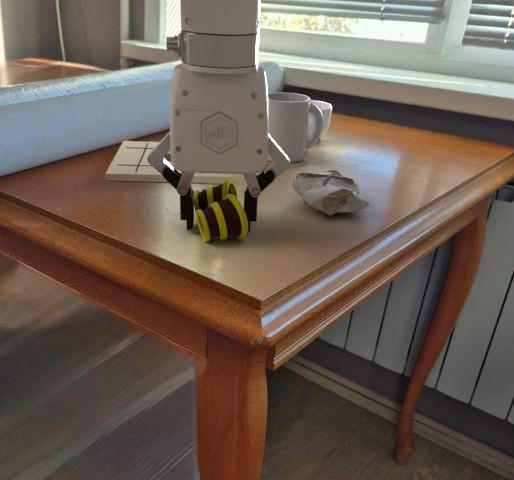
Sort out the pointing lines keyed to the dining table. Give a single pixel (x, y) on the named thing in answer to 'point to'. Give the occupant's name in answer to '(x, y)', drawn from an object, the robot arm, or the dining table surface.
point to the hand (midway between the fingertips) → (218, 225)
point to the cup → (293, 123)
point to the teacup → (326, 115)
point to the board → (148, 166)
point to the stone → (329, 192)
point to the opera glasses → (220, 212)
